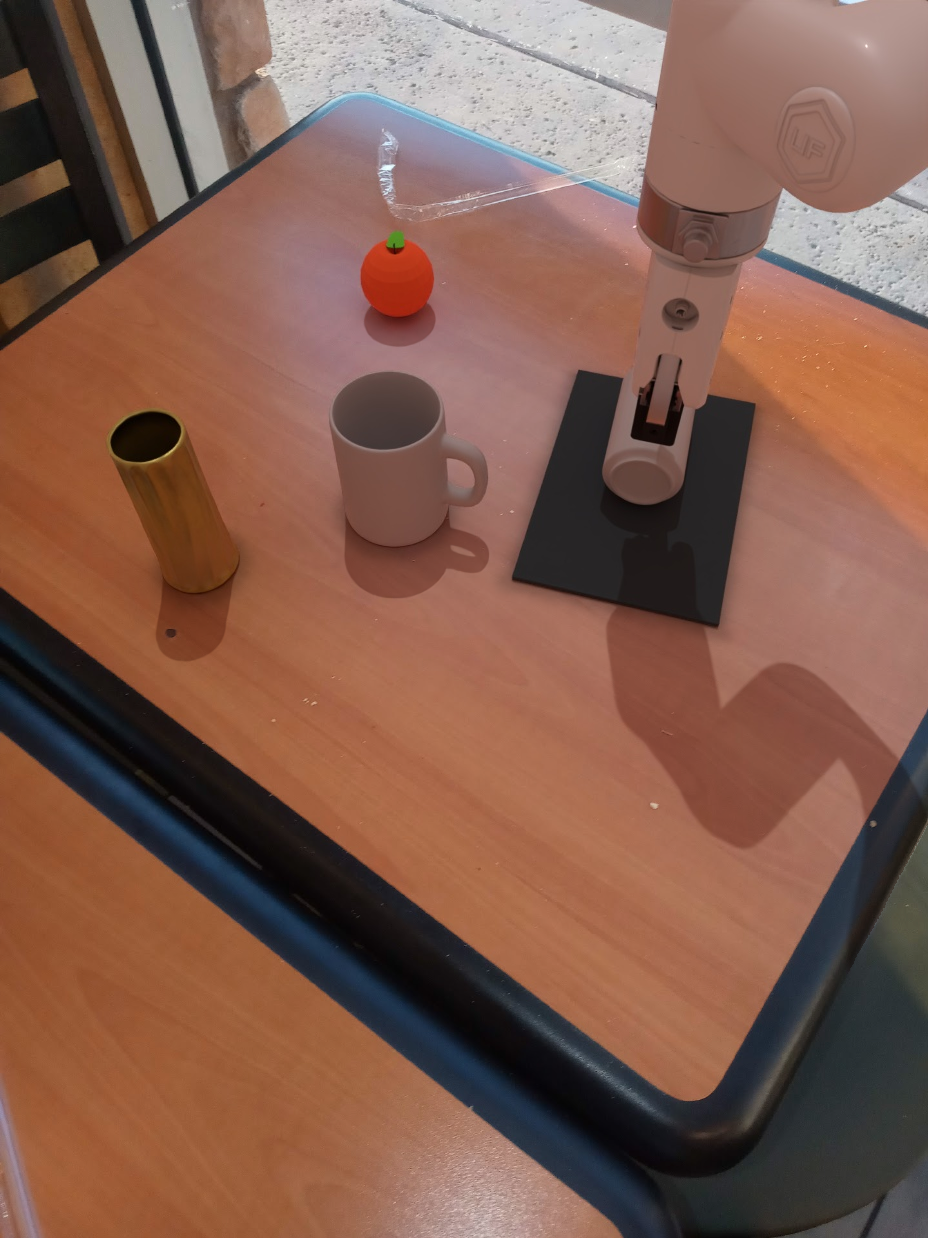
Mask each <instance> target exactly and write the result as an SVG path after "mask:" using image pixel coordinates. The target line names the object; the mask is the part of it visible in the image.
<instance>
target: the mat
mask: <svg viewBox="0 0 928 1238" xmlns="http://www.w3.org/2000/svg"><path fill="white" fill-rule="evenodd" d="M623 379H624V377H620V376H614V375H609V374H606V373H605V374H604V373H600V372H593V371H589V370H583V369H578V370H577V373H576V376H575V379H574V382H573V385H572V389H571V391H570V395H569V398H568V401H567V404H566V407H565V410H564V413H563V417H562V419H561V423H560V426H559V429H558V432H557V435H556V438H555V441H554V444H553V447H552V451H551V454H550V456H549V460H548V463H547V466H546V470H545V473H544V475H543V479H542V482H541V485H540V488H539V490H538V494H537V498H536V501H535V504H534V506H533V510H532V513H531V516H530V519H529V522H528V525H527V529H526V532H525V534H524V538H523V542H522V544H521V548H520V549H519V550H520V551H519V554H518V557H517V560H516V562H515V566H514V569H513V572H512V575H511V580H513V581H518V582H522V583H526V584H530V585H535V586H539V587H544V588H548V589H552V590H557V591H560V592H565V593H570V594H574V595H579V596H582V597H586V598H590V599H595V600H599V601H604V602H609V603H613V604H616V605H622V606H626V607H630V608H634V609H639V610H643V611H647V612H651V613H656V614H660V615H664V616H669V617H673V618H677V619H681V620H685V621H691V622H695V623H699V624H703V625H706V626H707V625H708V626H712V627H715V628H716V627H717V628H718V627H719V625H720V620H721V615H722V610H723V609H722V608H723V603H724V597H725V589H726V584H727V578H728V573H729V567H730V560H731V555H732V550H733V549H732V548H733V542H734V537H735V531H736V524H737V519H738V514H739V513H738V512H739V507H740V501H741V494H742V488H743V484H744V483H743V482H744V476H745V471H746V464H747V459H748V453H749V447H750V440H751V435H752V428H753V423H754V417H755V410H756V402H750V401H745V400H740V399H735V398H730V397H725V396H719V395H714V394H709V393H708V395H707V399H706V402H705V404H704V405H703V406H702V407H700V408H698V409H695V414H694V420H693V426H692V432H691V438H690V444H689V450H688V456H687V462H686V468H685V475H684V481H683V484H682V487H681V488H680V490H679V491H678V492H677V493H676V494H675V495H674V496H673V497H671V498H669V499H667V500H665V501H662V502H659V503H656V504H651V505H641V504H635V503H632V502H629V501H626V500H624V499H623V498H621V497H619V496H618V495H616V494H615V493H614V492H612V491H611V490H610V489H609V488H608V486H607V485H606V483H605V482H604V479H603V475H602V469H603V464H604V460H605V455H606V451H607V447H608V442H609V438H610V434H611V429H612V425H613V421H614V416H615V412H616V407H617V403H618V399H619V394H620V390H621V386H622V381H623Z"/></svg>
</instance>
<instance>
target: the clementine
mask: <svg viewBox="0 0 928 1238" xmlns="http://www.w3.org/2000/svg"><path fill="white" fill-rule="evenodd" d="M361 264H362V265H361V267H360V275H359V276H360V277H359V278H360V287H361V289H362V293H363V295H364V297H365V299H366V300H367V302H368V303H369V304H370V306H371V307H373V308H374V309H375V310H377V311H378V312H380V313H381V314H383V315H385V316H389V317H394V318H401V317H403V318H404V317H407V316H411V315H414V314H415V313H417V312H418V311H419V310H421V309H422V308H423V307H424V306H425V305H426V304H427V302H428V301H429V299H430V297H431V295H432V292H433V289H434V283H435V273H434V269H433V264H432V262H431V261H430V259H429V256H428V255H427V253H426V252H425V251H424V250H423V249H422V248H421V247H420V246H419V245H418V244H416V243H415V242H413V241H411V240H407V239H405V235H404V232H403V231H402V230H394V231H392V232H391V233H390V235H389V236H388V238H387V239H384V240H382V241H380V242H377V243H376V244H375V245H374V246H372V248H371V249H370V250H369V251H368V252H367V253H366V255H365V256H364V259H363V261H362V263H361Z"/></svg>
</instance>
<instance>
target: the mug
mask: <svg viewBox="0 0 928 1238" xmlns="http://www.w3.org/2000/svg"><path fill="white" fill-rule="evenodd" d="M329 405H330V406H329V410H328V423H329V424H328V425H329V429H330V435H331V439H332V446H333V451H334V456H335V462H336V467H337V471H338V478H339V482H340V488H341V494H342V495H341V496H342V501H343V509H344V512H345V517H346V520H347V522H348V523H349V525H350V526H351V528H352V529H353V530H354V531H355V533H356V534H357V535H359V536H360V537H361V538H363V539H364V540H366V541H368V542H370V543H372V544H375V545H379V546H384V547H392V548H394V547H395V548H396V547H406V546H411V545H414V544H417V543H420V542H422V541H424V540H426V539H427V538H429V537H431V536H432V535H433V534H434V533H436V532H437V530H439V529H440V527H441V526H442V525H443V523H444V522H445V519H446V517H447V514H448V512H449V511H448V510H449V505H450V506H454V507H460V508H473V507H475V506H477V505H479V504H480V503H481V502H482V500H483V499H484V497H485V496H486V495H485V494H486V492H487V487H488V484H489V469H488V468H489V467H488V464H487V459H486V457H485V455H484V453H483V451H482V450H481V449H480V448H479V446H477V445H476V444H474V443H472V442H470V441H469V440H465V439H463V438H461V437H456V436H454V435H450V434H448V433H447V424H446V412H445V406H444V405H445V404H444V401H443V399H442V396H441V395H440V393H439V391H438V390H437V389H436V388H435V386H434V385H433V384H431V383H430V382H429V381H428V380H426V379H425V378H422V377H421V376H419V375H417V374H414V373H411V372H407V371H403V370H391V369H389V370H386V369H385V370H377V371H372V372H367V373H364V374H362V375H360V376H357V377H355V378H353V379H351V380H350V381H349V382H346V384H344V385H343V386H342V387H340V389H339V390H337V392H336V393H335V395H334V396H333V398H332V400H331V403H330V404H329ZM448 459H452V460H457V461H460V462H462V463H465V464H466V465H467V466H468V467H469V468H470V470H471V471H472V474H473V478H474V484H473V486H472V487H464V486H460V485H457V484H454V483H452V482H451V481H449V471H448Z"/></svg>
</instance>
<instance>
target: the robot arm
mask: <svg viewBox="0 0 928 1238" xmlns="http://www.w3.org/2000/svg"><path fill="white" fill-rule="evenodd" d="M839 2H840V0H672V1H671V8H670V13H669V18H668V25H667V31H666V37H665V43H664V48H663V49H664V50H663V54H662V61H661V68H660V74H659V80H658V85H657V92H656V98H655V103H654V110H653V116H652V122H651V127H650V135H649V140H648V147H647V152H646V158H645V165H644V171H643V177H642V183H641V189H640V195H639V201H638V207H637V213H636V220H635V222H636V223H635V225H636V227H635V228H636V230H637V234H638V236H639V238H640V239H641V241H642V242H643V243H644V244H645V245H646V247H647V248H648V249H650V250H651V252H650V258H649V264H648V268H647V273H646V274H647V275H646V280H645V285H644V286H645V287H644V292H643V298H642V304H641V310H640V315H639V316H640V317H639V321H638V330H637V335H636V336H637V337H636V342H635V345H636V346H635V351H634V358H633V365H634V367H633V375H632V384H631V390H632V392H633V393H634V395H635V396H636V397H638V400H637V405H636V410H635V415H634V420H633V424H632V429H631V434H630V436H631V438H633V439H635V440H640V441H645V442H650V443H655V444H660V445H665V446H673V445H674V443H675V439H676V435H677V431H678V427H679V424H680V420H681V416H682V412H683V408H684V406H685V407H690V408H694V409H698V408H700V407H702V406H703V405H704V404H705V402H706V399H707V395H708V394H709V390H710V386H711V383H712V379H713V376H714V371H715V368H716V366H717V362H718V357H719V354H720V351H721V346H722V344H723V341H724V340H723V339H724V336H725V333H726V329H727V326H728V322H729V318H730V315H731V311H732V308H733V304H734V301H735V297H736V292H737V289H738V285H739V280H740V277H741V272H742V268H743V263H745V262H746V261H749V260H751V259H752V258H754V257H755V256H757V255H758V254H759V253H760V252H761V251H762V250H763V249H764V248H765V246H766V244H767V242H768V238H769V235H770V232H771V229H772V226H773V222H774V218H775V216H776V213H777V209H778V205H779V202H780V199H781V196H782V193H783V189H784V190H785V191H786V192H787V193H789V194H790V195H791V196H792V197H794V198H795V199H797V200H798V201H800V202H801V203H803V204H805V205H807V206H809V207H812V208H814V209H816V210H819V211H822V212H826V213H830V214H831V213H833V214H848V213H854V212H858V211H861V210H864V209H866V208H870V207H872V206H874V205H876V204H877V203H879V202H881V201H883V200H885V199H887V198H889V196H891V195H892V194H894V193H895V192H896V191H897V190H899V189H901V188H902V187H903V186H905V185H906V184H907V183H909V182H910V181H911V180H913V179H914V178H916V177H917V176H919V175H920V174H921V173H923V172H924V171H925V170H926V169H928V0H862V1H858V2H852V3H849V4H844V5H839Z"/></svg>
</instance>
